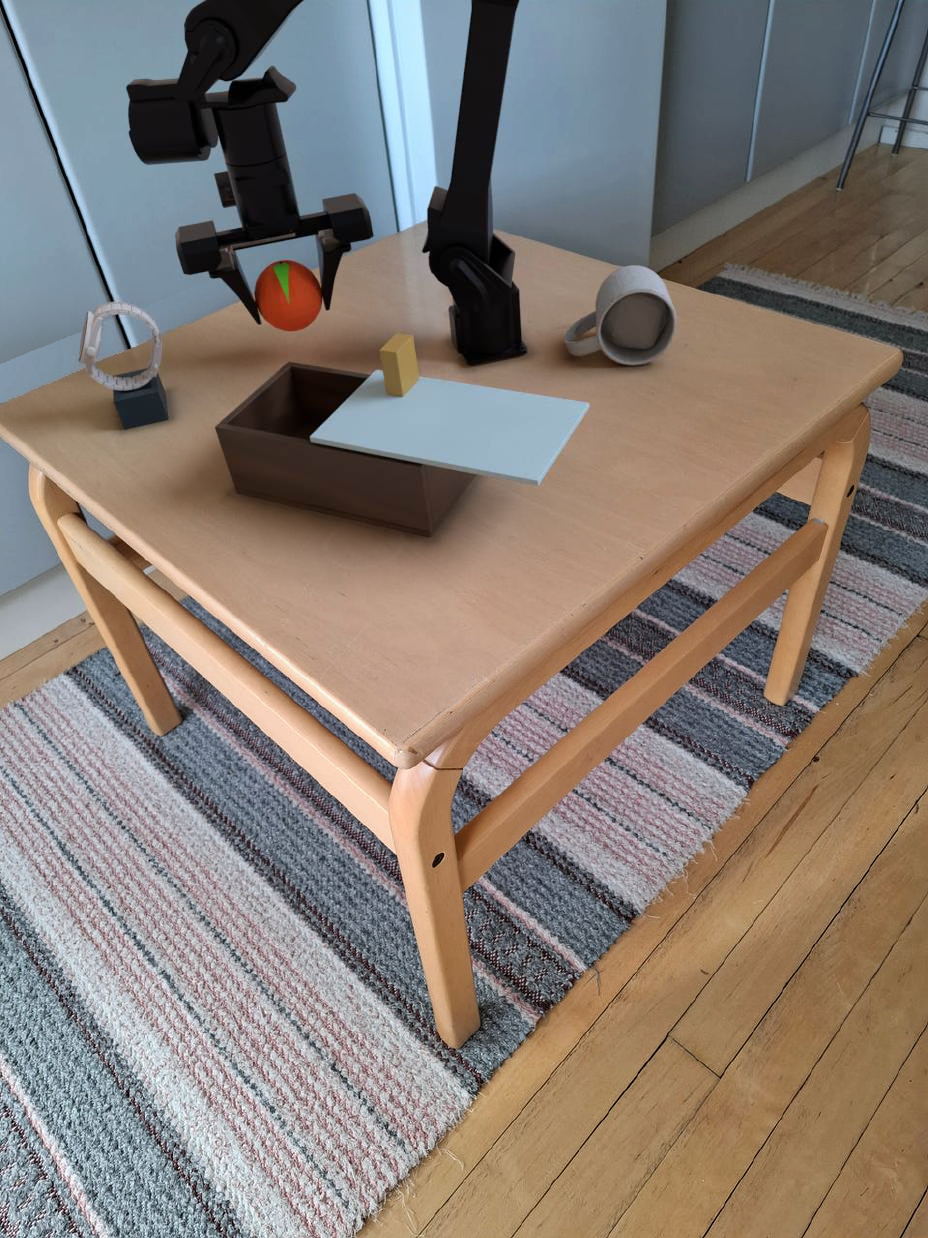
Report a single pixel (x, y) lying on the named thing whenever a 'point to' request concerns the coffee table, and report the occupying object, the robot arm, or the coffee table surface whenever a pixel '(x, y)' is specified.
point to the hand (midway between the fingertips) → (293, 315)
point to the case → (328, 457)
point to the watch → (132, 391)
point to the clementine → (288, 295)
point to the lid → (451, 421)
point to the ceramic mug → (627, 318)
